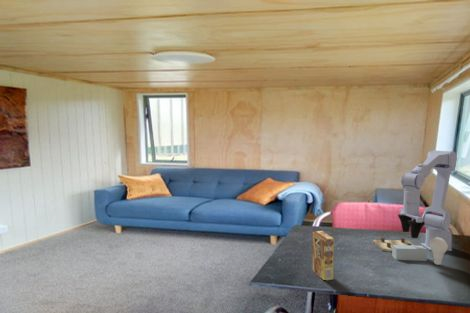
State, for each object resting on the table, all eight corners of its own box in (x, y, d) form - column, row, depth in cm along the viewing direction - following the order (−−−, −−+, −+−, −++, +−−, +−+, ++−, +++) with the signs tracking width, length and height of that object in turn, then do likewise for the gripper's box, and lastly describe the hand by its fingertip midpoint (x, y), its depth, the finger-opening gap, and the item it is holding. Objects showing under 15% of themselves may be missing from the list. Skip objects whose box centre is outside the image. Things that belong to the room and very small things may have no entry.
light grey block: (421, 257, 132) (422, 245, 131) (426, 261, 128) (427, 249, 127) (392, 256, 133) (392, 244, 132) (396, 260, 129) (396, 248, 128)
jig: (407, 242, 148) (407, 236, 148) (420, 252, 136) (420, 246, 136) (372, 241, 150) (373, 236, 149) (382, 251, 138) (382, 245, 138)
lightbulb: (447, 264, 124) (449, 237, 123) (445, 269, 119) (446, 241, 118) (430, 260, 128) (431, 234, 127) (426, 265, 123) (427, 238, 123)
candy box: (334, 280, 112) (334, 238, 110) (323, 281, 111) (323, 239, 109) (321, 269, 120) (322, 230, 119) (311, 270, 119) (312, 231, 118)
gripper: (393, 198, 136) (392, 228, 137) (409, 206, 121) (408, 240, 122) (410, 198, 135) (409, 229, 136) (428, 206, 121) (427, 240, 122)
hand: (410, 234), depth 129 cm, fingers open, 7 cm apart
